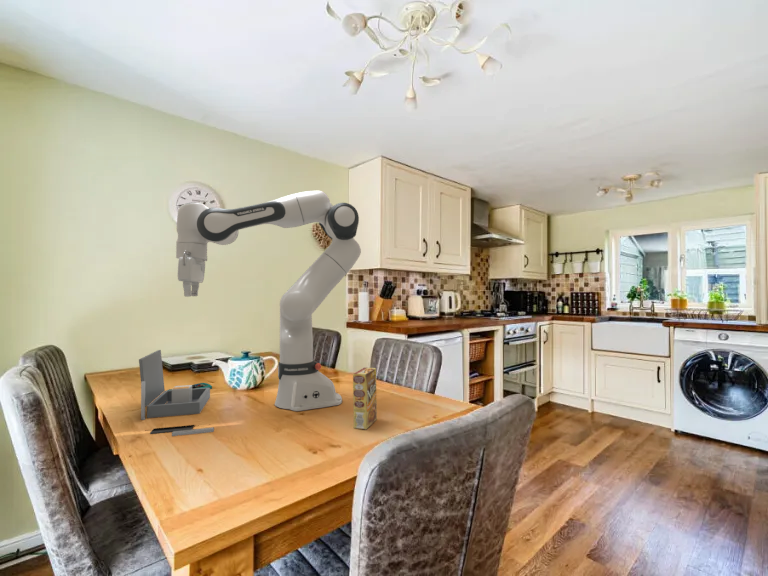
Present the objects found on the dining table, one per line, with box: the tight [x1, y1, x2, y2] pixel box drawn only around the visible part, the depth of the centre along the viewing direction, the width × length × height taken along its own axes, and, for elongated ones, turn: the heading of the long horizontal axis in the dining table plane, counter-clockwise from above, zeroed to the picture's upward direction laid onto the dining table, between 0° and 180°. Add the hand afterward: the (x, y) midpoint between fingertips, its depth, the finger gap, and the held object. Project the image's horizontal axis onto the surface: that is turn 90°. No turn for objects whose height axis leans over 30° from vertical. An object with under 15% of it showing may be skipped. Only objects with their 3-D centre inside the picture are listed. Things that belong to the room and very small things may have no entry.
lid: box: [138, 349, 166, 408], centre depth 116 cm, size 14×18×1 cm
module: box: [171, 384, 193, 403], centre depth 119 cm, size 5×4×6 cm
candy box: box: [352, 367, 378, 430], centre depth 106 cm, size 9×4×15 cm, turn 162°
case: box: [140, 381, 211, 421], centre depth 118 cm, size 15×20×12 cm
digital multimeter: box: [168, 382, 213, 390], centre depth 138 cm, size 7×15×3 cm, turn 146°
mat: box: [149, 424, 195, 435], centre depth 105 cm, size 10×10×1 cm
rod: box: [171, 426, 215, 437], centre depth 99 cm, size 10×1×1 cm, turn 106°
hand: (191, 296), depth 118 cm, fingers open, 8 cm apart
